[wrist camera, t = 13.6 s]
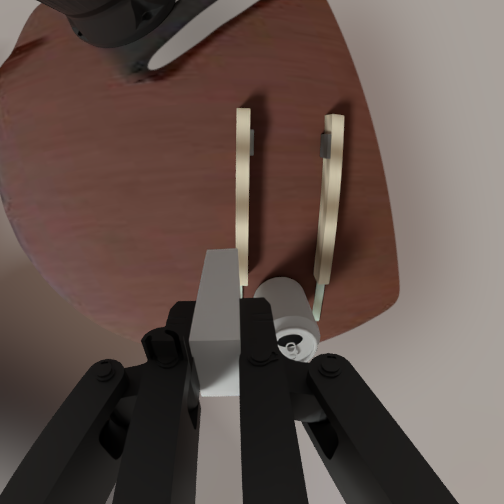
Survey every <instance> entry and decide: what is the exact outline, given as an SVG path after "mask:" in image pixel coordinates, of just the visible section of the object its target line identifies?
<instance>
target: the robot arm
mask: <svg viewBox="0 0 504 504" xmlns="http://www.w3.org/2000/svg"><path fill="white" fill-rule="evenodd" d="M37 1H39V2H41V3H43V4H45V5H47V6H49V7H51V8H53V9H55V10H57V11H59V12H61V13H63V14H65V15H66V17H67V19H68V21H69V23H70V25H71V27H72V29H73V31H74V32H75V34H76V35H77V36H78V37H79V38H80V39H81V40H83V41H85V42H87V43H89V44H91V45H93V46H96V47H101V48H113V47H119V46H123V45H126V44H129V43H131V42H134V41H136V40H138V39H140V38H142V37H143V36H145V35H147V34H148V33H150V32H151V31H152V30H153V29H155V28H156V27H157V26H158V25H159V24H160V23H161V22H162V21H163V20H164V19H165V18H166V17H167V15H168V14H169V13H170V11H171V9H172V8H173V6H174V3H175V1H176V0H37ZM141 342H142V345H143V347H144V351H145V354H146V356H147V359H148V361H147V362H146V363H144V364H141V365H138V366H133V367H128V368H124V367H123V366H122V364H121V363H120V362H118V361H116V360H112V359H105V360H101V361H99V362H97V363H95V364H94V365H92V366H91V367H90V368H89V370H88V371H87V372H86V373H85V375H84V376H83V377H82V379H81V380H80V381H79V382H78V384H77V385H76V386H75V388H74V389H73V390H72V392H71V393H70V394H69V396H68V397H67V398H66V400H65V401H64V402H63V404H62V405H61V406H60V408H59V409H58V410H57V412H56V413H55V415H54V416H53V417H52V419H51V420H50V422H49V423H48V424H47V426H46V427H45V428H44V430H43V431H42V433H41V434H40V436H39V437H38V439H37V440H36V441H35V443H34V444H33V446H32V447H31V449H30V450H29V451H28V453H27V454H26V456H25V457H24V459H23V461H22V462H21V464H20V465H19V466H18V468H17V470H16V471H15V473H14V474H13V476H12V478H11V479H10V481H9V482H8V484H7V485H6V487H5V488H4V490H3V492H2V493H1V495H0V504H105V503H106V501H107V499H108V497H109V495H110V493H111V491H112V489H113V487H114V485H115V483H116V486H115V492H114V497H113V503H112V504H195V495H196V475H197V474H196V473H197V458H198V441H199V428H200V415H201V414H200V413H201V406H200V402H199V392H201V396H240V429H241V430H240V431H241V460H242V461H241V463H242V490H243V504H309V503H308V498H307V492H306V487H305V480H304V474H303V468H302V462H301V456H300V450H299V445H298V439H297V434H296V427H295V422H294V420H298V421H301V422H302V424H303V426H304V428H305V430H306V432H307V433H308V435H309V437H310V439H311V441H312V443H313V445H314V447H315V448H316V450H317V452H318V454H319V456H320V458H321V459H322V461H323V463H324V465H325V467H326V468H327V470H328V472H329V474H330V476H331V477H332V479H333V481H334V483H335V485H336V487H337V488H338V490H339V492H340V493H341V495H342V497H343V499H344V501H345V502H346V504H459V503H458V502H457V501H456V499H455V498H454V497H453V496H452V494H451V493H450V492H449V490H448V489H447V488H446V486H445V485H444V484H443V482H442V481H441V480H440V478H439V477H438V476H437V475H436V473H435V472H434V471H433V469H432V468H431V467H430V465H429V464H428V463H427V461H426V460H425V459H424V457H423V456H422V455H421V454H420V452H419V451H418V450H417V448H416V447H415V446H414V445H413V443H412V442H411V441H410V439H409V438H408V437H407V435H406V434H405V433H404V431H403V430H402V429H401V428H400V426H399V425H398V424H397V422H396V421H395V420H394V419H393V418H392V416H391V415H390V413H389V412H388V411H387V410H386V408H385V407H384V406H383V404H382V403H381V402H380V401H379V399H378V398H377V397H376V395H375V394H374V393H373V392H372V390H371V389H370V388H369V386H368V385H367V384H366V383H365V381H364V380H363V379H362V377H361V376H360V375H359V374H358V372H357V371H356V370H355V369H354V367H353V366H352V365H351V363H350V362H349V361H348V360H346V359H345V358H344V357H342V356H340V355H337V354H330V353H327V354H321V355H319V356H316V357H315V358H313V359H312V361H311V362H310V363H307V362H300V361H295V360H292V359H290V358H288V357H286V356H285V355H283V354H282V352H281V351H280V350H279V347H278V343H277V337H276V332H275V326H274V321H273V315H272V309H271V304H270V303H269V302H268V301H267V300H266V299H265V298H264V297H259V298H241V296H240V278H239V260H238V248H237V249H215V250H207V253H206V257H205V262H204V267H203V271H202V276H201V281H200V286H199V290H198V295H197V300H196V301H178V302H177V303H176V304H175V305H174V306H173V307H172V308H171V309H170V312H169V315H168V319H167V322H166V326H165V327H161V328H156V329H154V330H151V331H149V332H148V333H147V334H145V335H144V337H143V338H142V340H141Z"/></svg>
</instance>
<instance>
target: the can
mask: <svg viewBox="0 0 504 504" xmlns="http://www.w3.org/2000/svg"><path fill="white" fill-rule="evenodd" d="M259 297H264V298H265V299H266V300H267V301H268V302H269V303H270V304H271V309H272V315H273V321H274V326H275V332H276V337H277V343H278V347H279V350H280V351H281V352H282V354H283V355H285V356H286V357H288V358H290V359H292V360H295V361H300V362H308V361H309V360H310V359H311V358H312V357H313V356H314V354H315V353H316V351H317V347H318V344H319V340H320V332H319V328H318V326H317V323H316V320H315V318H314V315H313V313H312V310H311V308H310V305H309V303H308V300H307V298H306V295H305V293H304V290H303V288H302V287H301V286H300V284H299V283H298V282H296V281H295V280H293V279H290V278H287V277H275V278H272V279H269V280H267V281H265V282H264V283H262V284H261V285H260V286H259V287H258V289H257V290H256V292H255V295H254V298H259Z"/></svg>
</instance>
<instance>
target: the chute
mask: <svg viewBox="0 0 504 504" xmlns="http://www.w3.org/2000/svg"><path fill="white" fill-rule="evenodd" d="M343 136H344V115H336V114H330V115H325V132H324V134H321V147H320V157H322V158H323V173H322V188H321V201H320V214H319V225H318V236H317V246H316V255H315V264H314V273H313V275H314V277H315V279H316V281H317V283H316V291H315V298H314V305H313V312H312V313H313V315H314V318H315V320H316V321H319V318H320V312H321V306H322V299H323V293H324V286H325V284H329V280H330V273H331V266H332V259H333V251H334V243H335V235H336V226H337V217H338V207H339V196H340V184H341V171H342V156H343ZM250 155H253V156H254V130H250V108H237V131H236V249H237V248H238V260H239V278H240V296H241V298H242V286H248V220H249V157H250Z"/></svg>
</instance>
